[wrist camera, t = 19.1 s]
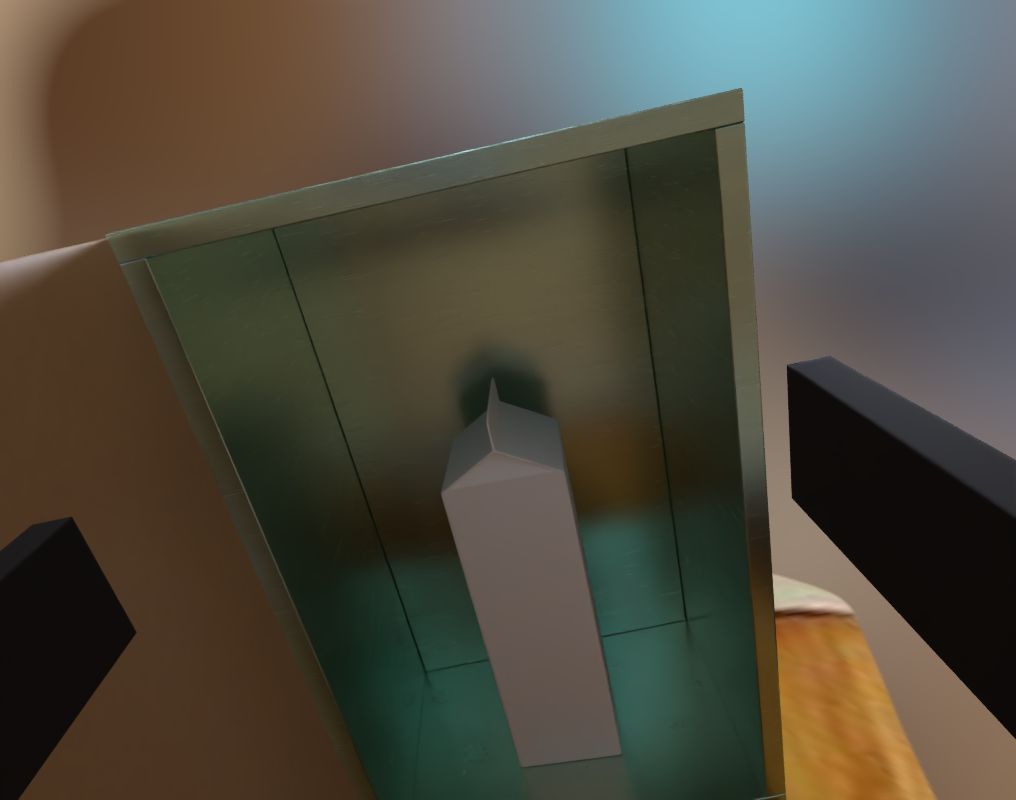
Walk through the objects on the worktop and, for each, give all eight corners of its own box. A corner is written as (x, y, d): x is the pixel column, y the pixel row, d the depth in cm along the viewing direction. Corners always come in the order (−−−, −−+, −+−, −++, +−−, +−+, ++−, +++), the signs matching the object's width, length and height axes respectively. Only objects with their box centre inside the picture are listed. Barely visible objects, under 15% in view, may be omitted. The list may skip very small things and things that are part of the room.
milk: (520, 769, 36) (418, 435, 28) (520, 685, 41) (435, 386, 33) (625, 755, 35) (551, 409, 27) (610, 671, 41) (546, 363, 33)
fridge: (787, 807, 32) (743, 87, 19) (392, 881, 32) (103, 234, 20) (696, 618, 45) (636, 116, 32) (416, 674, 45) (250, 204, 33)
